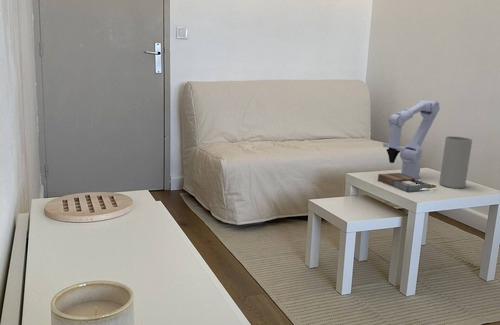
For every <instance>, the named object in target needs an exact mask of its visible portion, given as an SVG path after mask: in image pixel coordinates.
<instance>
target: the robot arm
mask: <svg viewBox="0 0 500 325" xmlns="http://www.w3.org/2000/svg"><path fill="white" fill-rule="evenodd" d="M439 112H440V103H439V102H438V101H437V100H427V99H421V100H418V102H417V103H416V104H415V105H414V106H412V107H411V108H406V107H404V109H403V110H401V111H399V112H397V113H396V114H395V113H394V114H391V115H390V116H389V119H388V124H389V133H388V134H389V135H388V143H387V142H385V143H383V145H382V147H383V148H386V149H385V150H386V153H387V156H388V160H389V164H390V163H391V164H394V163H395V162H396V159H397V157H398V155H399V156H400V159H401V161H402V164H401V171H400V173H401V174H404V175H407V176H410V177H413V178H415V179H416V180H418V179H421V177H420V172H421V164H420V162H419V161H420V160H421V157H422V153H423V150H422V148H421V147H422V144H423V142H424V140H425V138H426V136H427V134H428V132H429V130H430V128H431V126H432V124H433V123H434V121H435V118H436V117H437V115H438V113H439ZM417 113H420V116H421V117H422V120H421V122H420V123H419V126H418V127H417V130H416V132H415V134H414V136H413V137H412V139H411V141H410V143H408V144H406V145H405V146H404V147H403V146H401V145H400V144H401V136H402V127H404V125H405V123H406V122H407V121H409V120H410V119H412V118H413V117H414V115H415V114H417Z"/></svg>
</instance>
